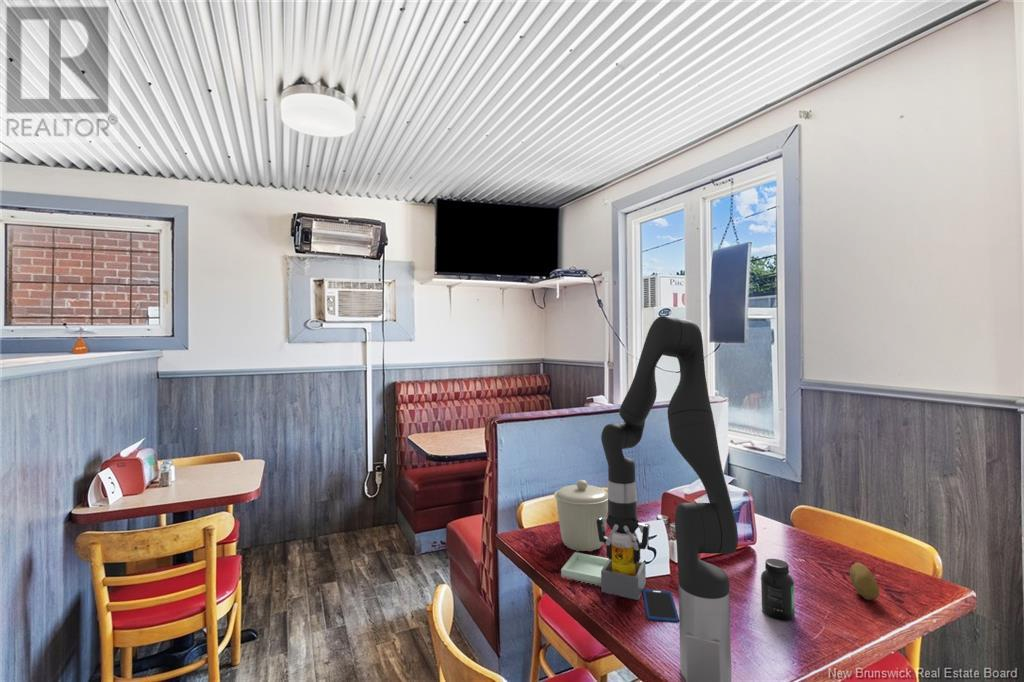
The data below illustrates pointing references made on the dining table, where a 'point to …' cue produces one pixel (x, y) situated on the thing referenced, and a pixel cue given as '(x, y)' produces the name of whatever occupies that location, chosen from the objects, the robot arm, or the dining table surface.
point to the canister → (581, 515)
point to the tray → (584, 568)
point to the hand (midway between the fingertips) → (623, 560)
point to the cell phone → (660, 606)
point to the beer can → (622, 554)
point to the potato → (864, 581)
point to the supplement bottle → (777, 590)
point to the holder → (623, 581)
